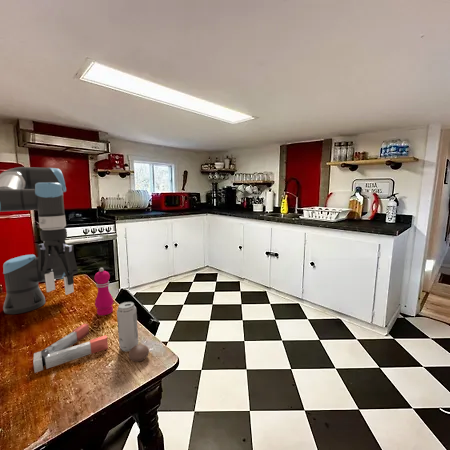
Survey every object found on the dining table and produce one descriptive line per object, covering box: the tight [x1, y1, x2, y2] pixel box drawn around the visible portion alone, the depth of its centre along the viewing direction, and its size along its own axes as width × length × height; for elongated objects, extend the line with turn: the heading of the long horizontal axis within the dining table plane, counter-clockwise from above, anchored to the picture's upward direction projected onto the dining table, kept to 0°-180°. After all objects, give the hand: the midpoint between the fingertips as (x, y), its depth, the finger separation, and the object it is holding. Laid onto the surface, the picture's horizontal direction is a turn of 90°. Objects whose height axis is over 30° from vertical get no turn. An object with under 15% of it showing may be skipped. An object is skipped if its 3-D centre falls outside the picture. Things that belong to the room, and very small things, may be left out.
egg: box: [128, 344, 150, 362], centre depth 79 cm, size 6×6×4 cm
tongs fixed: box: [32, 334, 109, 374], centre depth 81 cm, size 20×5×4 cm, turn 125°
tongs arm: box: [45, 323, 90, 354], centre depth 86 cm, size 16×2×4 cm, turn 163°
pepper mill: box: [93, 267, 114, 316], centre depth 109 cm, size 7×7×20 cm
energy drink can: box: [116, 301, 139, 352], centre depth 84 cm, size 6×6×15 cm
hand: (60, 291), depth 89 cm, fingers open, 8 cm apart
